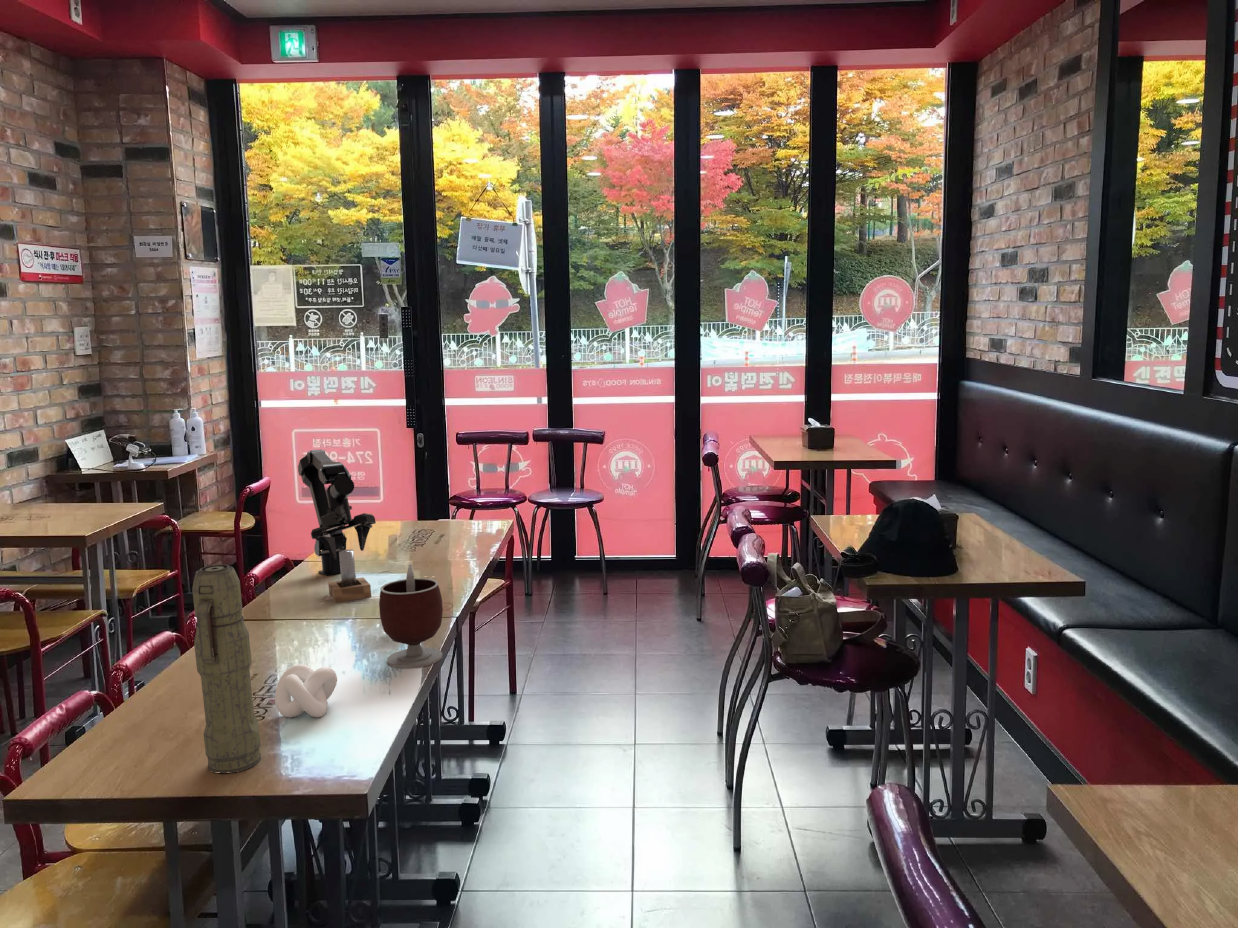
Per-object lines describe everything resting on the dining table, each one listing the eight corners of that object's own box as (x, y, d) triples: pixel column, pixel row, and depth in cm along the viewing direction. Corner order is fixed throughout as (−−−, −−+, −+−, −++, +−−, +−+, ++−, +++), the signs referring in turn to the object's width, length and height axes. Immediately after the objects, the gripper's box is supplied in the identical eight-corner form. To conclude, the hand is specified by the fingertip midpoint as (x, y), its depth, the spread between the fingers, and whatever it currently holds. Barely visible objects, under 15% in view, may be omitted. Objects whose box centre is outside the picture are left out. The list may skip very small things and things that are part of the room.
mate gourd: (445, 665, 215) (439, 578, 212) (381, 672, 213) (374, 583, 210) (446, 644, 230) (440, 561, 227) (386, 649, 228) (379, 566, 225)
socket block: (329, 594, 280) (328, 582, 279) (364, 588, 284) (363, 577, 283) (335, 602, 271) (334, 590, 270) (371, 596, 275) (370, 584, 274)
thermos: (196, 780, 164) (174, 578, 159) (220, 750, 175) (199, 561, 170) (250, 776, 164) (229, 575, 159) (270, 746, 176) (251, 558, 171)
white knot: (340, 720, 187) (336, 675, 186) (274, 730, 184) (269, 684, 182) (339, 699, 198) (335, 657, 196) (277, 708, 194) (273, 665, 193)
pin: (339, 596, 276) (335, 552, 275) (349, 593, 280) (346, 549, 278) (350, 598, 275) (346, 553, 273) (360, 594, 278) (356, 550, 276)
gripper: (296, 510, 284) (305, 562, 281) (351, 492, 280) (362, 544, 277) (317, 513, 295) (326, 563, 291) (371, 496, 290) (381, 546, 287)
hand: (348, 554), depth 286 cm, fingers open, 9 cm apart
